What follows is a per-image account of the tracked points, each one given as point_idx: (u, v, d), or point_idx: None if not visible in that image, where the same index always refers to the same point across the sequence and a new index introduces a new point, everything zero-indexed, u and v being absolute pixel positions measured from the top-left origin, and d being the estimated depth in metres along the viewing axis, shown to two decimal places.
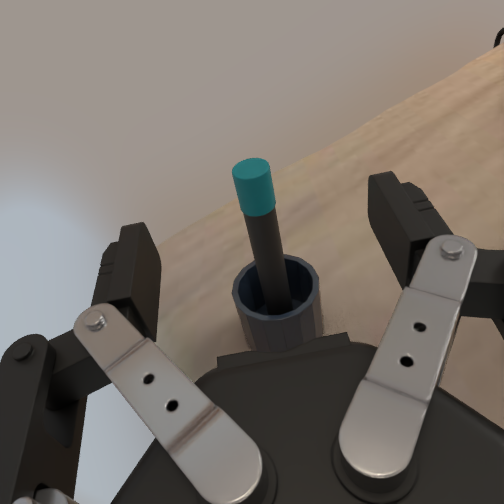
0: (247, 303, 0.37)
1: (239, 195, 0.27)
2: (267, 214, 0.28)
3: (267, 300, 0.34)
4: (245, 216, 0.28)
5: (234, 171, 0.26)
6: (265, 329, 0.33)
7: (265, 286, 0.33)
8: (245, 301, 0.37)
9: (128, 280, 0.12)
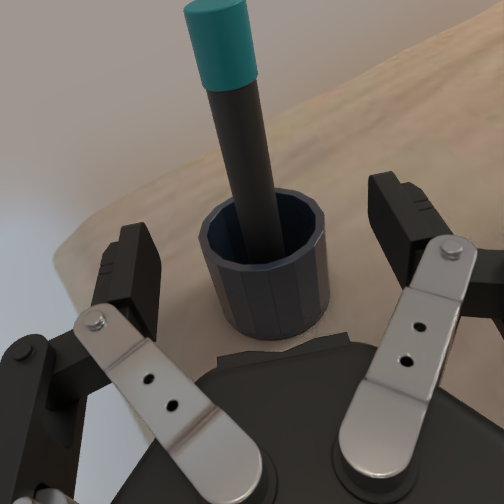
0: (224, 259, 0.27)
1: (197, 52, 0.17)
2: (244, 89, 0.17)
3: (249, 247, 0.23)
4: (209, 97, 0.18)
5: (187, 7, 0.16)
6: (244, 286, 0.22)
7: (245, 223, 0.22)
8: (220, 254, 0.26)
9: (128, 280, 0.12)
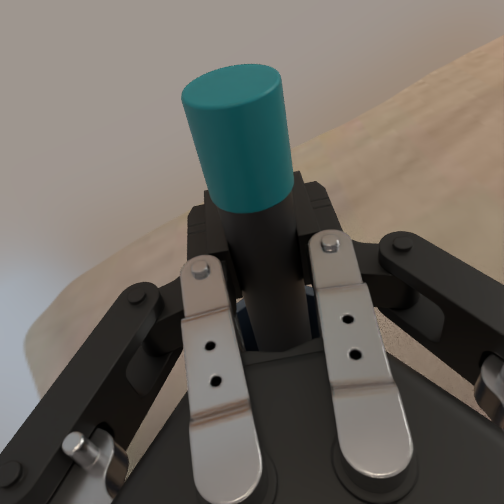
0: None
1: (202, 159, 0.10)
2: (275, 208, 0.11)
3: None
4: (221, 213, 0.12)
5: (187, 92, 0.10)
6: None
7: None
8: None
9: (222, 236, 0.13)
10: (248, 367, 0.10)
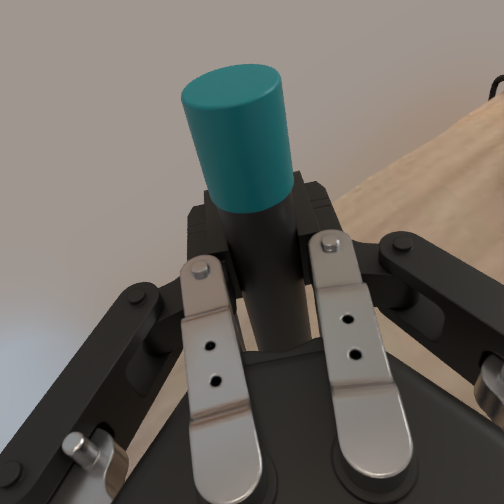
0: None
1: (202, 159, 0.10)
2: (275, 208, 0.11)
3: None
4: (221, 214, 0.12)
5: (187, 92, 0.10)
6: None
7: None
8: None
9: (222, 236, 0.13)
10: (248, 367, 0.10)
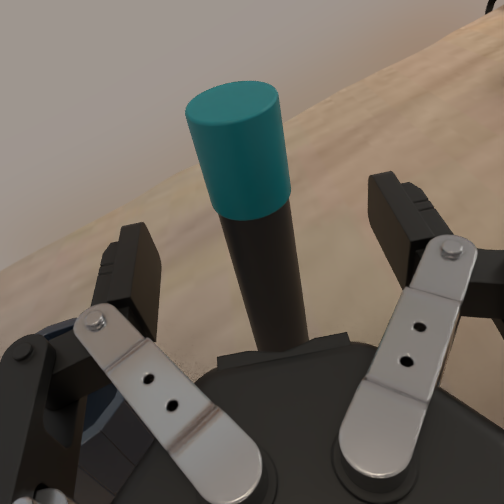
0: None
1: (205, 170, 0.11)
2: (273, 216, 0.12)
3: None
4: (222, 220, 0.13)
5: (190, 108, 0.11)
6: None
7: None
8: None
9: (128, 280, 0.12)
10: None
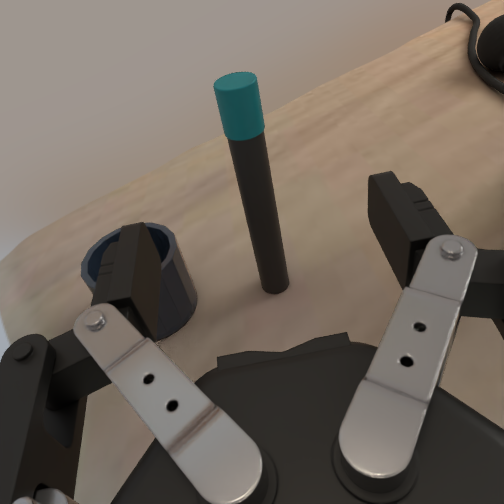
0: None
1: (222, 114, 0.23)
2: (255, 138, 0.24)
3: (257, 251, 0.30)
4: (230, 142, 0.25)
5: (216, 84, 0.23)
6: None
7: (254, 232, 0.29)
8: None
9: (128, 280, 0.12)
10: None
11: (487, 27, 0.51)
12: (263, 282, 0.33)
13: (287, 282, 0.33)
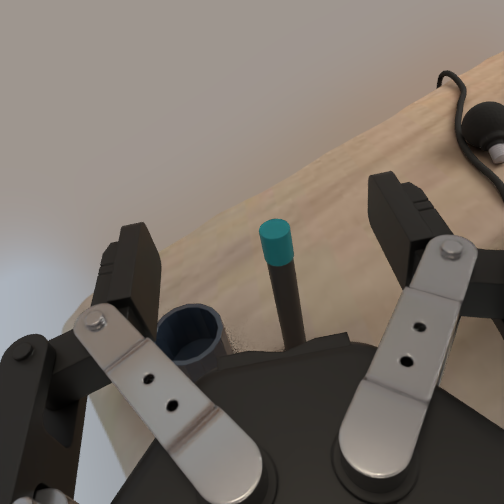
0: (169, 345, 0.43)
1: (264, 249, 0.33)
2: (287, 264, 0.34)
3: (284, 330, 0.40)
4: (268, 265, 0.34)
5: (261, 231, 0.32)
6: None
7: (282, 319, 0.39)
8: (166, 343, 0.43)
9: (128, 280, 0.12)
10: None
11: (469, 113, 0.61)
12: (287, 349, 0.42)
13: None
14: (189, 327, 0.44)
